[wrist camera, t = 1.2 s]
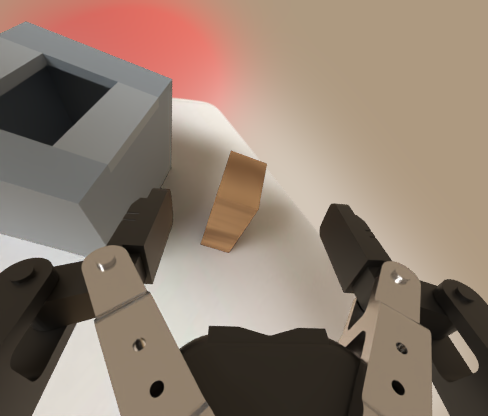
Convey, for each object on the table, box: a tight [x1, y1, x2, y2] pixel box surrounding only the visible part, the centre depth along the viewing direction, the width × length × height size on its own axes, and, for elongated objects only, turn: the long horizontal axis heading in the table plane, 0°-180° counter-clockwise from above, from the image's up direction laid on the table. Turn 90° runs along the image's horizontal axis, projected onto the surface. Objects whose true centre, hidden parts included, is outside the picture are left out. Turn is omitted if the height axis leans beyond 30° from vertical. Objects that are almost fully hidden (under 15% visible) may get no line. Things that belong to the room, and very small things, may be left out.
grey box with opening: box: [0, 22, 172, 257], centre depth 23 cm, size 16×14×14 cm
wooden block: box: [201, 151, 267, 253], centre depth 26 cm, size 6×4×12 cm, turn 169°
